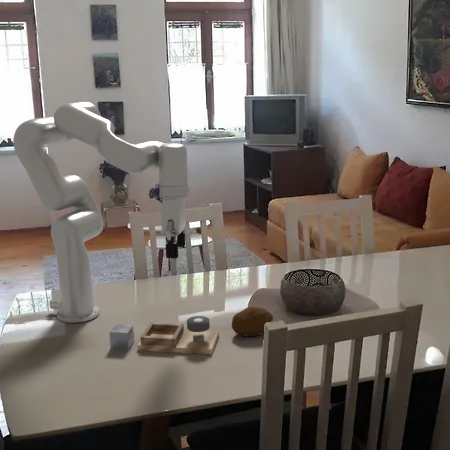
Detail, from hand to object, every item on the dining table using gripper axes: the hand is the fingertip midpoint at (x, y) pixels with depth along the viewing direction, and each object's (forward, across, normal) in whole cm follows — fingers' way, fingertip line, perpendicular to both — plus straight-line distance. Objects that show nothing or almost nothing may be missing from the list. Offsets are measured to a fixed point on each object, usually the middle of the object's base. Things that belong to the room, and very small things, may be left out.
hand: (176, 252), depth 167 cm
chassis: (+24, +7, +1) cm, 25 cm away
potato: (+24, -2, +21) cm, 32 cm away
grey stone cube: (+24, +9, -14) cm, 29 cm away
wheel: (+19, +7, +7) cm, 21 cm away
